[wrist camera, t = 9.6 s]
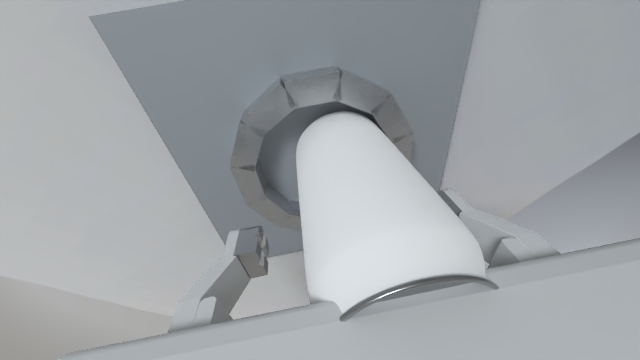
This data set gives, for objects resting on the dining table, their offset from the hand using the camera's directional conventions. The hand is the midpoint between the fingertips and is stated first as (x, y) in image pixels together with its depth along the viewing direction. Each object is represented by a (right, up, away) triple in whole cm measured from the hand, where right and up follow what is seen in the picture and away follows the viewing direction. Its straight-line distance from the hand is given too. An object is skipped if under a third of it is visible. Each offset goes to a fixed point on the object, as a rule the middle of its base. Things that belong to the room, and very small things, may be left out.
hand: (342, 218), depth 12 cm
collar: (-1, +4, +5) cm, 7 cm away
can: (0, +4, +5) cm, 7 cm away
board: (-1, +4, +6) cm, 8 cm away
